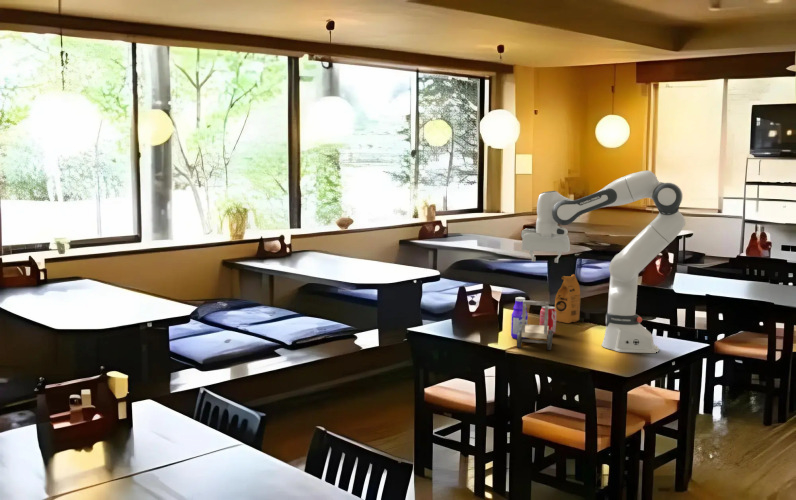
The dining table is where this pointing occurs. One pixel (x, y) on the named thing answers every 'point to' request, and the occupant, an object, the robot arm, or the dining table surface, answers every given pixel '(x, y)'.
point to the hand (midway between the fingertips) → (544, 262)
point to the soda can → (549, 318)
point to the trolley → (535, 327)
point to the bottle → (517, 317)
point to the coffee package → (568, 300)
